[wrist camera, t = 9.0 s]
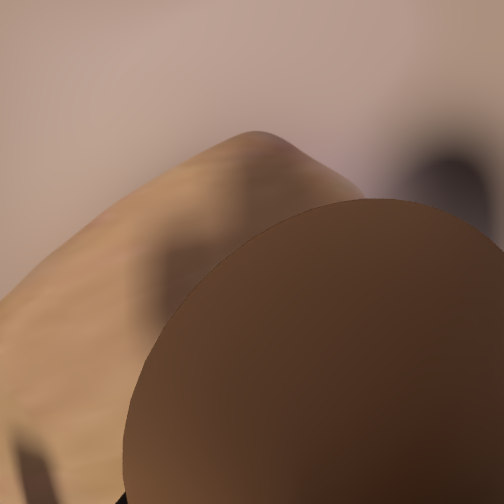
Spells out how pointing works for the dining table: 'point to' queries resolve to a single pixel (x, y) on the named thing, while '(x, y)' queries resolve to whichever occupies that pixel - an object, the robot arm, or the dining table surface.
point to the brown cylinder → (331, 368)
